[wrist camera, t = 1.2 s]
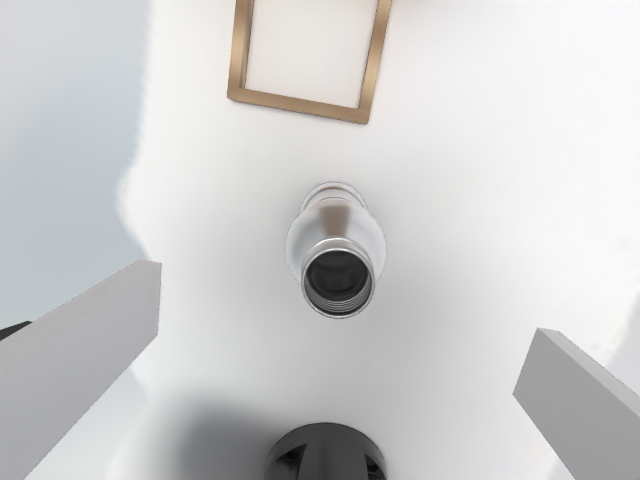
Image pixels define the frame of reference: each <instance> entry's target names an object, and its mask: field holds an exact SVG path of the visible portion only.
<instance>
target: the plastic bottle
mask: <svg viewBox="0 0 640 480" xmlns="http://www.w3.org/2000/svg"><path fill="white" fill-rule="evenodd" d="M285 253H286V260H287V263H288V267H289V269H290V271H291V273H292V275H293V277H294V278H295V280H296V281H297V282H298V284H299V285H300V286H301V287H302V291H303V294H304V297H305V299H306V300H307V302H308V303H309V305H310V306H311V307H312V308H313V309H314V310H315V311H317V312H318V313H320V314H322V315H324V316H326V317H329V318H335V319H344V318H348V317H352V316H354V315H356V314H358V313H359V312H361V311H362V310H363V309H364V308H365V307H366V306H367V305H368V304H369V302H370V301H371V299H372V296H373V294H374V288H375V283H376V282H377V280H378V279H379V277H380V275H381V273H382V271H383V268H384V266H385V261H386V256H387V248H386V241H385V236H384V234H383V231H382V229H381V227H380V225H379V224H378V222H377V221H376V219H375V218H374V217H373V216H372V215H371V214H370V213H369V212H368V211H367V207H366V204H365V202H364V200H363V198H362V197H361V196H360V194H359V193H358V192H357V191H356V190H355V189H353V188H352V187H350V186H348V185H346V184H343V183H338V182H328V183H324V184H321V185H319V186H317V187H315V188H314V189H313V190H312V191H310V193H309V194H308V195H307V196H306V198H305V200H304V201H303V204H302V207H301V213H300V214H299V215H298V216H297V218H296V219H295V220H294V221H293V223H292V225H291V227H290V229H289V231H288V234H287V237H286V245H285Z"/></svg>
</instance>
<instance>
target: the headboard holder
mask: <svg viewBox="0 0 640 480" xmlns="http://www.w3.org/2000/svg"><path fill="white" fill-rule="evenodd" d="M391 2H392V0H378V5H377V11H376V16H375V21H374V27H373V32H372V37H371V43H370V48H369V53H368V59H367V64H366V69H365V75H364V80H363V85H362V91H361V96H360V101H359V107H358V109H354V108H348V107H343V106H337V105H331V104H326V103H320V102H315V101H309V100H304V99H298V98H292V97H287V96H281V95H276V94H270V93H265V92H259V91H253V90H248V89H244V88H245V79H246V70H247V60H248V51H249V42H250V33H251V24H252V14H253V5H254V0H236V7H235V18H234V28H233V38H232V49H231V59H230V69H229V80H228V90H227V98H228V99H230V100H232V101H238V102H243V103H249V104H254V105H260V106H266V107H271V108H277V109H282V110H288V111H293V112H299V113H305V114H310V115H316V116H321V117H327V118H333V119H338V120H344V121H349V122H355V123H361V124H367V123H368V120H369V114H370V109H371V104H372V99H373V94H374V89H375V84H376V79H377V74H378V69H379V63H380V58H381V53H382V48H383V43H384V38H385V33H386V28H387V23H388V18H389V12H390V7H391Z"/></svg>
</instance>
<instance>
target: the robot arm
mask: <svg viewBox="0 0 640 480" xmlns="http://www.w3.org/2000/svg"><path fill="white" fill-rule="evenodd" d="M161 267H162V263H157V262H151V261H145V260H138V261H136V262H135V263H133V264H131V265H129V266H128V267H126V268H124V269H122V270H121V271H119V272H117V273H116V274H114V275H112V276H110V277H109V278H107V279H105V280H104V281H102V282H100V283H99V284H97V285H95V286H93V287H92V288H90V289H88V290H87V291H85V292H83V293H82V294H80V295H78V296H76V297H75V298H73V299H71V300H70V301H68V302H66V303H65V304H63V305H61V306H60V307H58V308H56V309H54V310H53V311H51V312H49V313H48V314H46V315H44V316H42V317H41V318H39V319H37V320H36V321H34V322H30V321H26V322H23V323H20V324H17V325H14V326H11V327H8V328H5V329H2V330H0V480H24V479H25V478H26V477H27V476H28V475H29V473H30V472H31V471H32V470H33V469H34V468H35V467H36V466H37V465H38V464H39V463H40V462H41V460H42V459H43V458H44V457H45V456H46V455H47V454H48V453H49V452H50V451H51V449H52V448H53V447H54V446H55V445H56V444H57V443H58V442H59V441H60V440H61V439H62V438H63V437H64V436H65V434H66V433H67V432H68V431H69V430H70V429H71V428H72V427H73V426H74V425H75V424H76V423H77V421H78V420H79V419H80V418H81V417H82V416H83V415H84V414H85V413H86V412H87V411H88V410H89V408H90V407H91V406H92V405H93V404H94V403H95V402H96V401H97V400H98V399H99V398H100V397H101V395H102V394H103V393H104V392H105V391H106V390H107V389H108V388H109V387H110V386H111V385H112V384H113V382H114V381H115V380H116V379H117V378H118V377H119V376H120V375H121V374H122V373H123V372H124V370H125V369H126V368H127V367H128V366H129V365H130V364H131V363H132V362H133V361H134V360H135V359H136V358H137V356H138V355H139V354H140V353H141V352H142V351H143V350H144V349H145V348H146V347H147V346H148V345H149V343H150V342H151V341H152V340H153V339H154V338H155V337H156V336H157V335H158V321H159V303H160V285H161ZM513 395H514V397H515V398H516V399H517V401H518V402H519V404H520V405H521V406H522V408H523V409H524V410H525V412H526V413H527V414H528V416H529V417H530V418H531V420H532V421H533V423H534V424H535V425H536V427H537V428H538V429H539V431H540V432H541V433H542V435H543V436H544V438H545V439H546V440H547V442H548V443H549V444H550V446H551V447H552V448H553V450H554V451H555V452H556V454H557V455H558V457H559V458H560V459H561V461H562V462H563V463H564V465H565V466H566V467H567V468H568V470H569V472H570V473H571V474H572V476H573V477H574V478H575V480H640V396H638V395H637V394H636V393H635V392H633V391H632V390H631V389H630V388H628V387H627V386H626V385H625V384H624V383H622V382H621V381H620V380H619V379H617V378H616V377H615V376H614V375H612V374H611V373H610V372H609V371H607V370H606V369H605V368H604V367H603V366H601V365H600V364H599V363H598V362H596V361H595V360H594V359H593V358H591V357H590V356H589V355H588V354H586V353H585V352H584V351H583V350H581V349H580V348H579V347H578V346H577V345H575V344H574V343H573V342H572V341H570V340H569V339H568V338H567V337H565V336H564V335H563V334H562V333H560V332H559V331H555V330H549V329H543V328H537V330H536V332H535V335H534V338H533V340H532V343H531V346H530V348H529V351H528V354H527V357H526V359H525V362H524V365H523V367H522V370H521V373H520V376H519V378H518V381H517V384H516V386H515V389H514V392H513ZM264 480H388V477H387V472H386V466H385V462H384V459H383V456H382V454H381V452H380V451H379V449H378V448H377V447H376V445H375V444H374V443H373V442H372V441H371V440H370V439H369V438H367V437H366V436H365V435H363V434H362V433H360V432H358V431H356V430H354V429H351V428H349V427H346V426H342V425H337V424H313V425H308V426H304V427H301V428H299V429H296V430H294V431H292V432H290V433H289V434H287V435H286V436H284V437H283V438H282V439H281V440H280V441H279V442H278V443H277V444H276V445H275V446H274V448H273V449H272V451H271V453H270V455H269V458H268V462H267V466H266V472H265V477H264Z"/></svg>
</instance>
